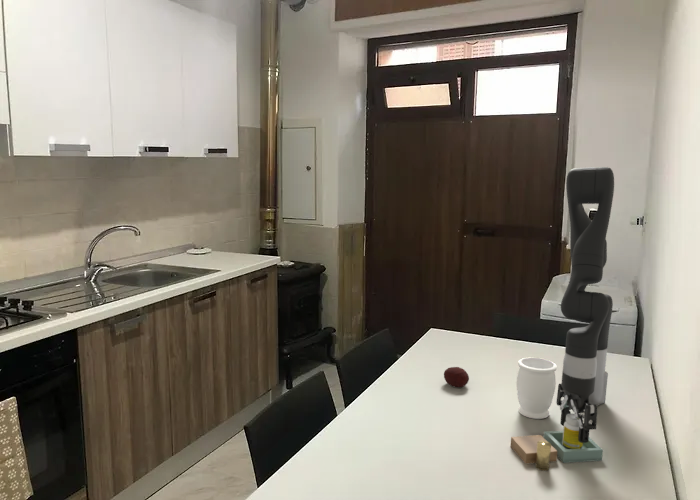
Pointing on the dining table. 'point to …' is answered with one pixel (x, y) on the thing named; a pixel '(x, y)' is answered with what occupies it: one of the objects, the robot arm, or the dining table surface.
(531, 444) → the brown wooden square block
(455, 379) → the potato
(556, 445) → the tray
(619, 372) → the dining table surface
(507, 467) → the dining table surface
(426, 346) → the dining table surface
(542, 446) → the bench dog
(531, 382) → the jar
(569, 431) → the supplement bottle
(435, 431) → the dining table surface
